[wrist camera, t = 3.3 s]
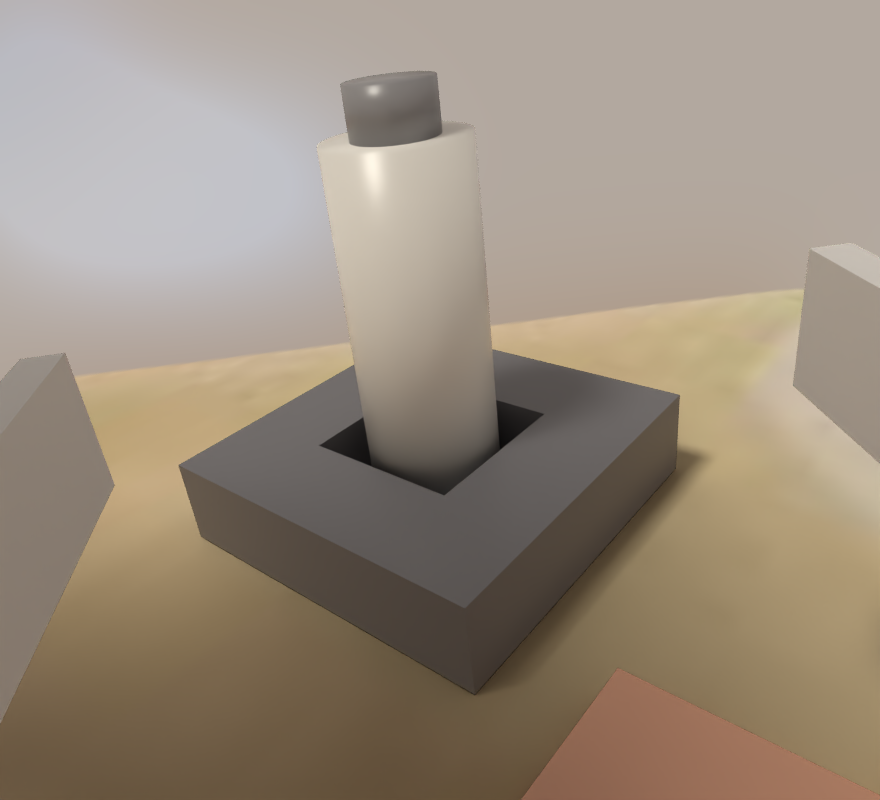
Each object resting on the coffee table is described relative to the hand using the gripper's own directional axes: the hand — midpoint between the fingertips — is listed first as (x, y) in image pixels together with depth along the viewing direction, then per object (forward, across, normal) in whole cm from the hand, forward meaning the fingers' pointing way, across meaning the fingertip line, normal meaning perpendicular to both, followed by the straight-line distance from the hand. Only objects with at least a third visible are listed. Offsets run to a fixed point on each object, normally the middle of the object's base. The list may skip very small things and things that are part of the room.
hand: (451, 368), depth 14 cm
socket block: (+10, 0, -10) cm, 14 cm away
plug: (+10, 0, -10) cm, 14 cm away
